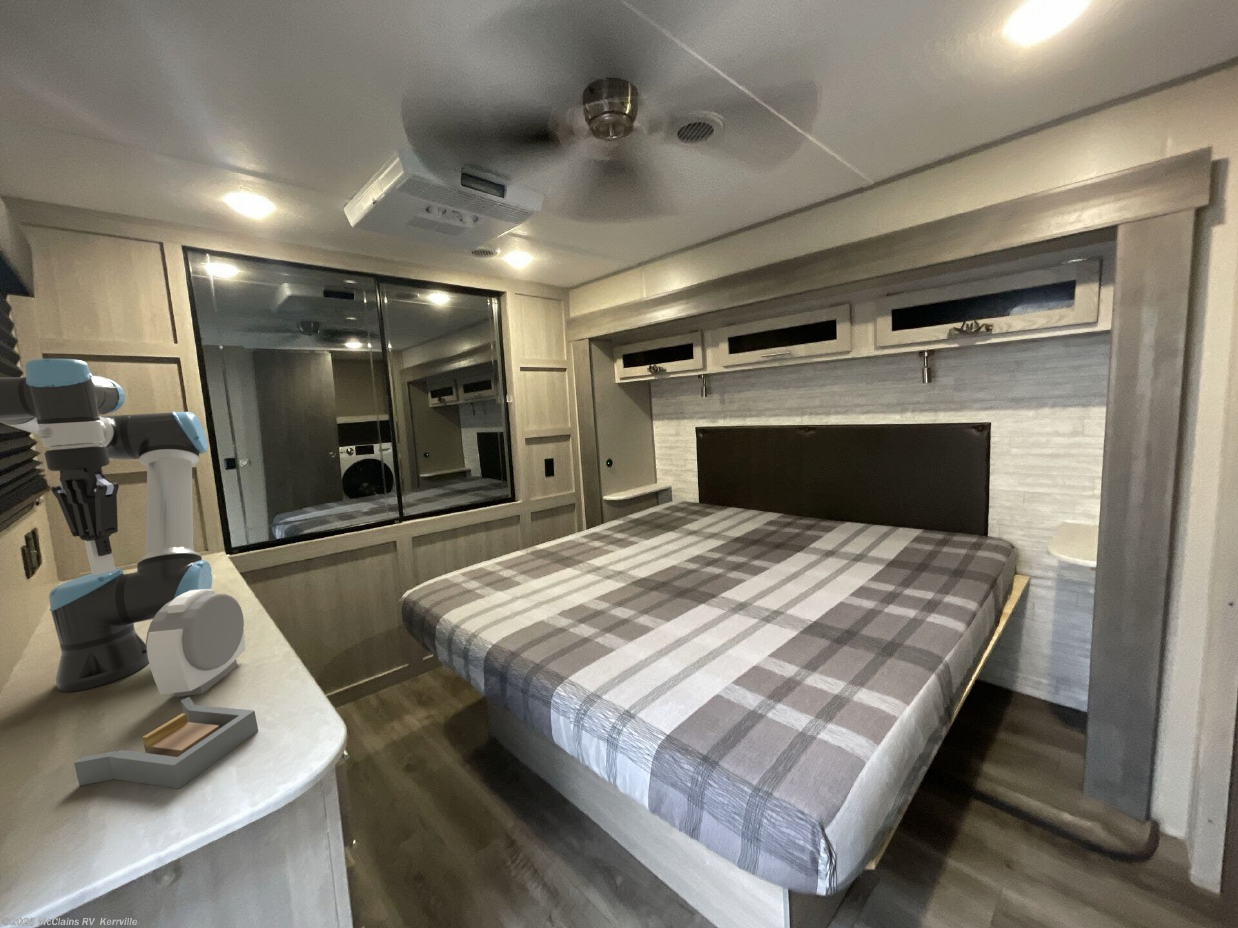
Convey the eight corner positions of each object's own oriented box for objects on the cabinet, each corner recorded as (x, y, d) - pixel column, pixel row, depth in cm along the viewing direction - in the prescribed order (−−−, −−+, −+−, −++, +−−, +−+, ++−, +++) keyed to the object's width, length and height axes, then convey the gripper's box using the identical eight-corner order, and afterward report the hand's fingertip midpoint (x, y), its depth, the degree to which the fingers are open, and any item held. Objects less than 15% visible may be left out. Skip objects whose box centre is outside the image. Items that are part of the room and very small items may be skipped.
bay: (77, 785, 76) (71, 762, 76) (191, 715, 92) (186, 696, 92) (165, 798, 72) (160, 774, 72) (268, 723, 88) (264, 703, 88)
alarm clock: (218, 660, 113) (202, 579, 111) (256, 656, 114) (241, 575, 111) (151, 709, 96) (130, 613, 93) (196, 704, 96) (177, 608, 94)
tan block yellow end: (148, 764, 80) (142, 736, 79) (187, 738, 86) (181, 713, 85) (185, 769, 78) (179, 741, 78) (222, 743, 84) (217, 716, 83)
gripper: (20, 450, 84) (51, 579, 87) (74, 447, 81) (104, 580, 85) (76, 446, 91) (103, 564, 95) (127, 442, 89) (153, 565, 92)
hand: (104, 571), depth 90 cm, fingers closed
